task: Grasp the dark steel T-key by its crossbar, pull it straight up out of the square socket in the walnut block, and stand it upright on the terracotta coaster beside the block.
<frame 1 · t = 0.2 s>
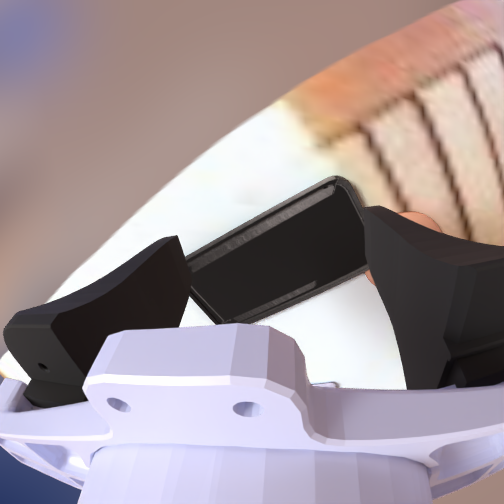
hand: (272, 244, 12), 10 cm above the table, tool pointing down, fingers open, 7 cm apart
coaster: (403, 252, 23), on the table
phone: (276, 257, 25), on the table
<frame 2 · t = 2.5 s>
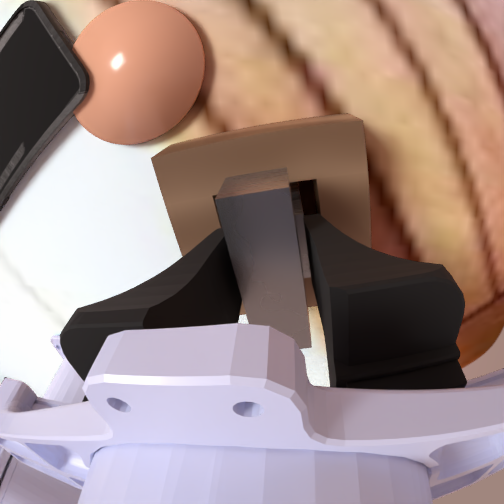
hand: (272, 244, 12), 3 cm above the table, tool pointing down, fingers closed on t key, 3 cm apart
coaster: (130, 71, 12), on the table
socket block: (273, 209, 15), on the table
t key: (272, 239, 12), in the socket block, touching gripper
phone: (1, 126, 14), on the table
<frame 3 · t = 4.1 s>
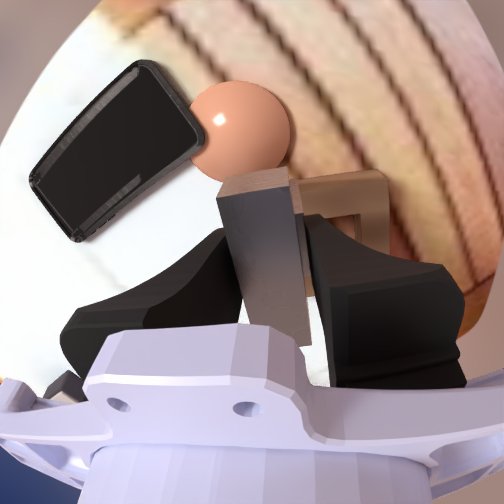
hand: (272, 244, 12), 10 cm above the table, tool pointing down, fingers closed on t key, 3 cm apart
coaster: (236, 132, 20), on the table
socket block: (328, 228, 23), on the table
t key: (272, 237, 12), point 10 cm above the table, touching gripper
black red flat box: (97, 404, 41), on the table
phone: (108, 156, 22), on the table
when the fingers open (5 cm above the table, at t = 5.7 s): t key stays where it is, resting on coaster.
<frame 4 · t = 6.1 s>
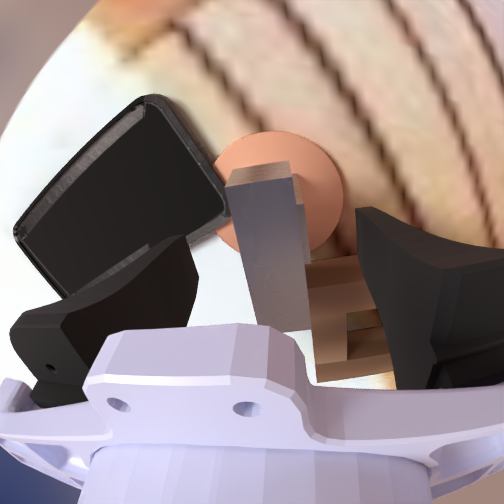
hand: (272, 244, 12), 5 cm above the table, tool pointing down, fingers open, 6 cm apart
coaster: (274, 198, 16), on the table
socket block: (371, 306, 19), on the table
t key: (274, 228, 13), on the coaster
phone: (107, 214, 18), on the table
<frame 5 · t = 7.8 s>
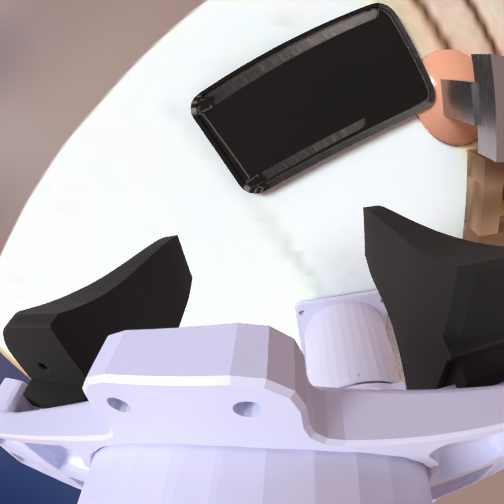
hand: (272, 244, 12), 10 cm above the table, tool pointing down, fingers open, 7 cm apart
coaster: (454, 96, 17), on the table
socket block: (501, 195, 20), on the table
t key: (480, 102, 14), on the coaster
phone: (316, 93, 19), on the table
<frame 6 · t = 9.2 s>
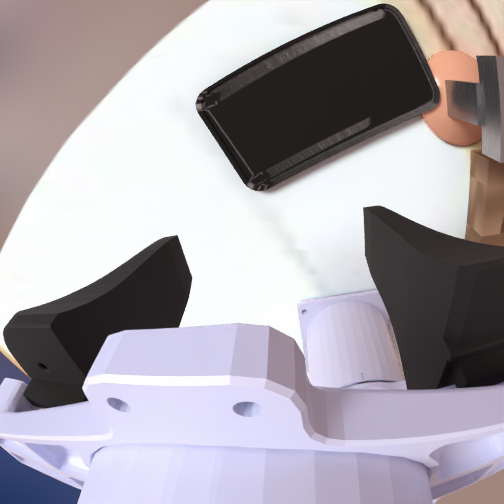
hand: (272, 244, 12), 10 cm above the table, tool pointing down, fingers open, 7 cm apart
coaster: (458, 97, 17), on the table
t key: (484, 103, 14), on the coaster
phone: (322, 92, 19), on the table
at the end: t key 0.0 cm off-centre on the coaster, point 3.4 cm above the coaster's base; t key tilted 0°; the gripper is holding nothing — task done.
